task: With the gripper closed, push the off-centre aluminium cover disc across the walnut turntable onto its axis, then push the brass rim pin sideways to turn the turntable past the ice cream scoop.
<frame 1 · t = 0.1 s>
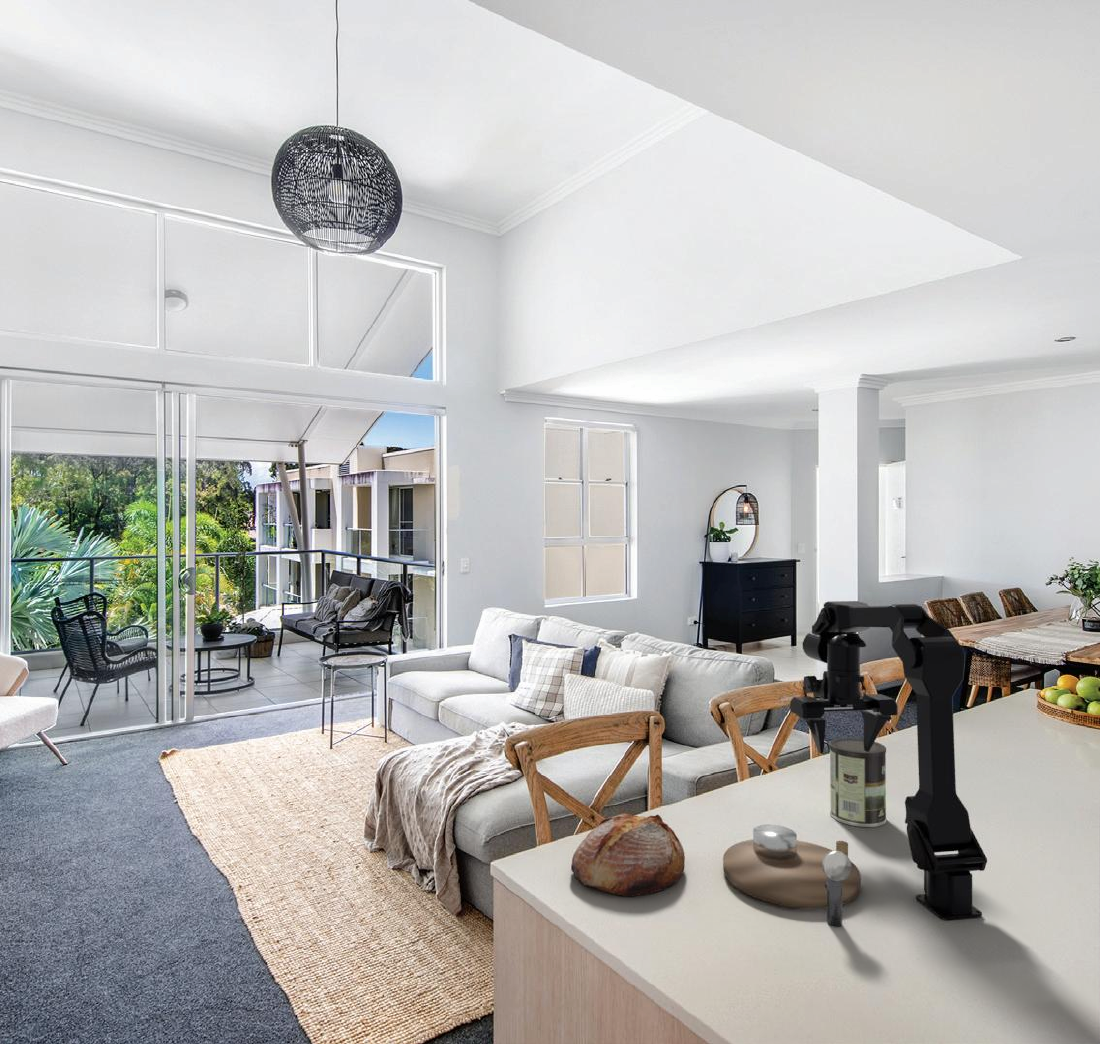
hand: (843, 752, 138), 15 cm above the kitchen island, fingers open, 9 cm apart
bread: (629, 875, 122), on the kitchen island
cover: (774, 850, 125), point 2 cm above the kitchen island, touching turntable
ice cream scoop: (834, 923, 106), on the kitchen island
coffee can: (857, 818, 145), on the kitchen island
turntable: (790, 860, 119), point 3 cm above the kitchen island, hinge at 0.0°, touching cover
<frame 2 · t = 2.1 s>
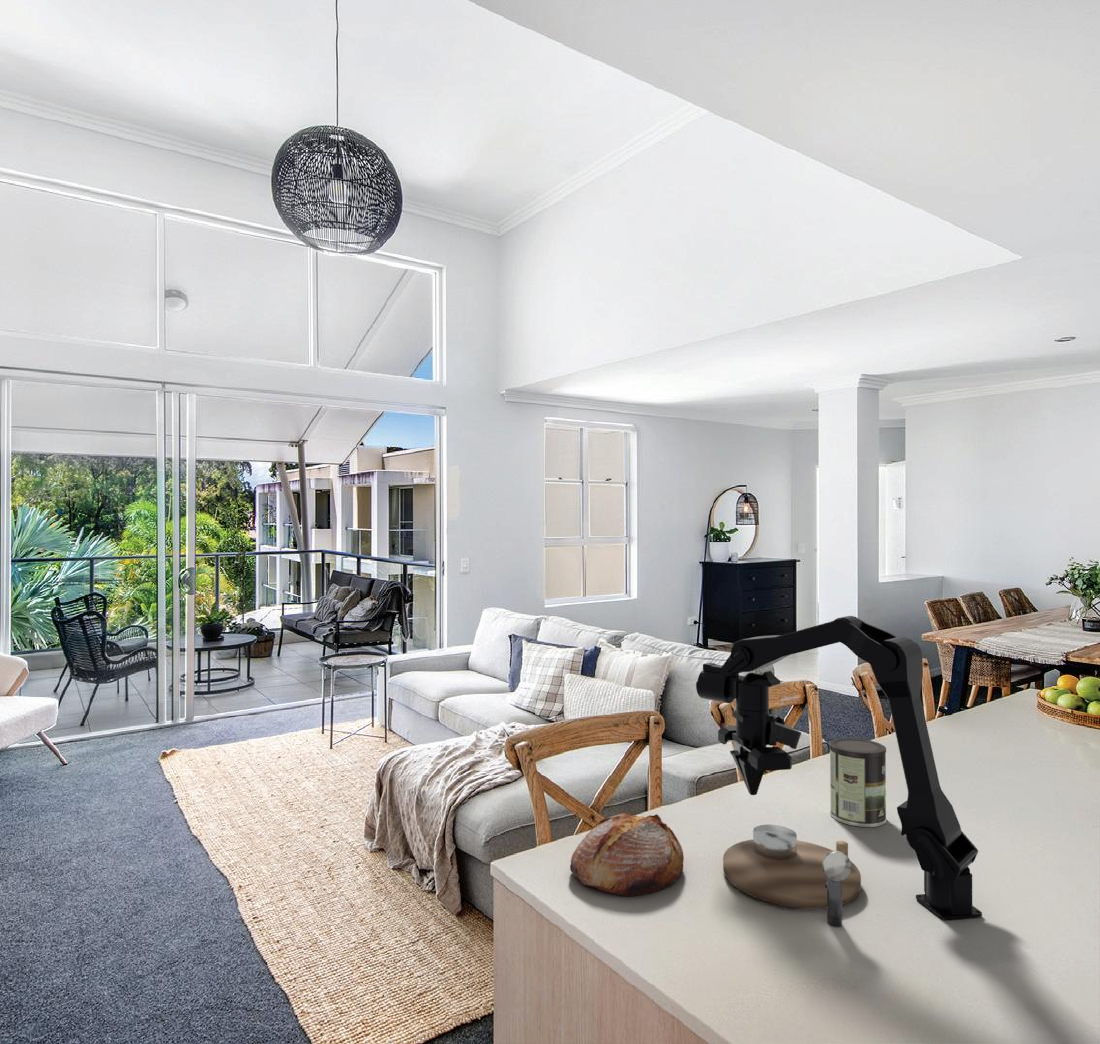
hand: (752, 794, 134), 8 cm above the kitchen island, fingers closed
nothing on the kitchen island moved.
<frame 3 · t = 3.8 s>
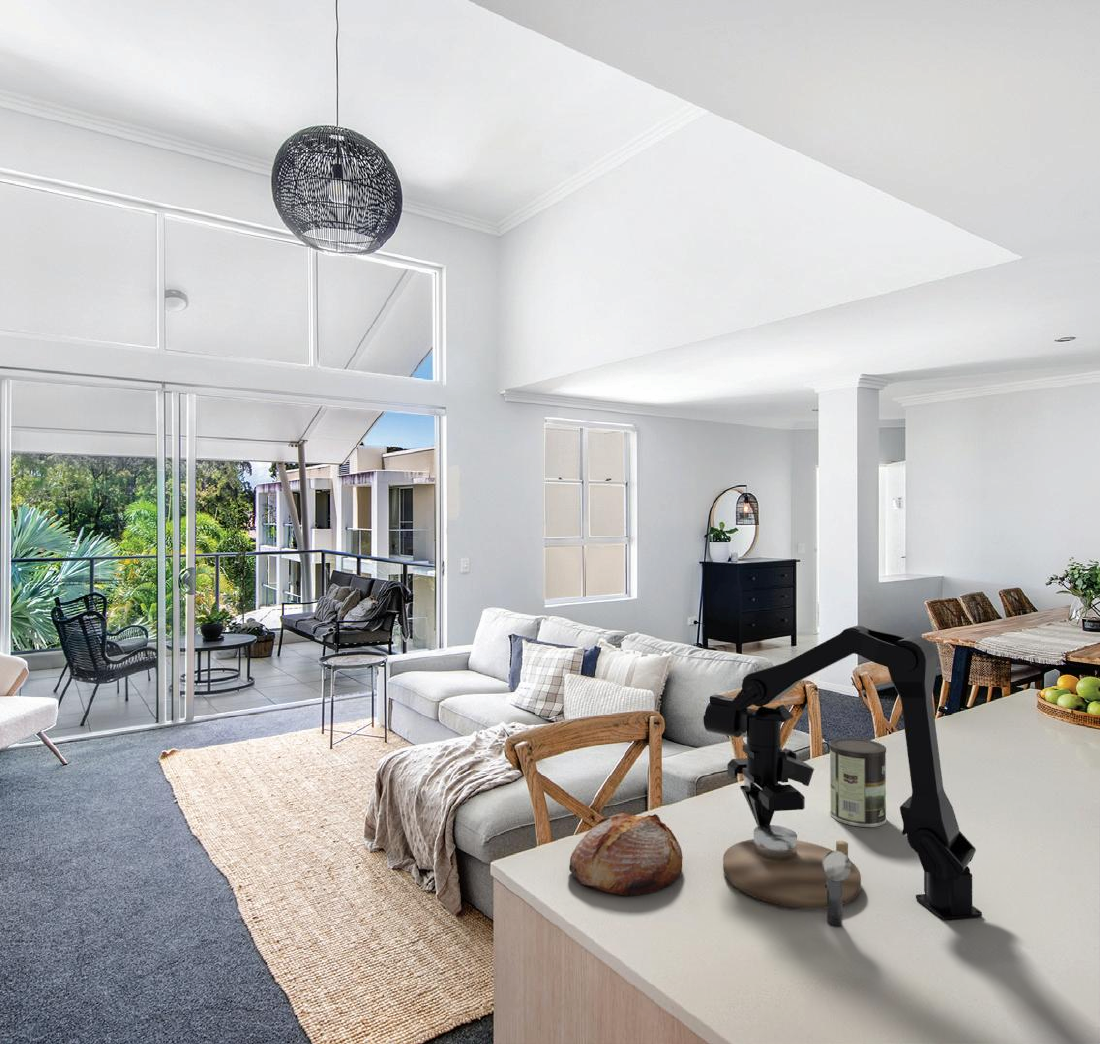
hand: (763, 832, 129), 4 cm above the kitchen island, fingers closed
cover: (775, 851, 125), point 2 cm above the kitchen island, touching gripper, turntable
everything else where it was.
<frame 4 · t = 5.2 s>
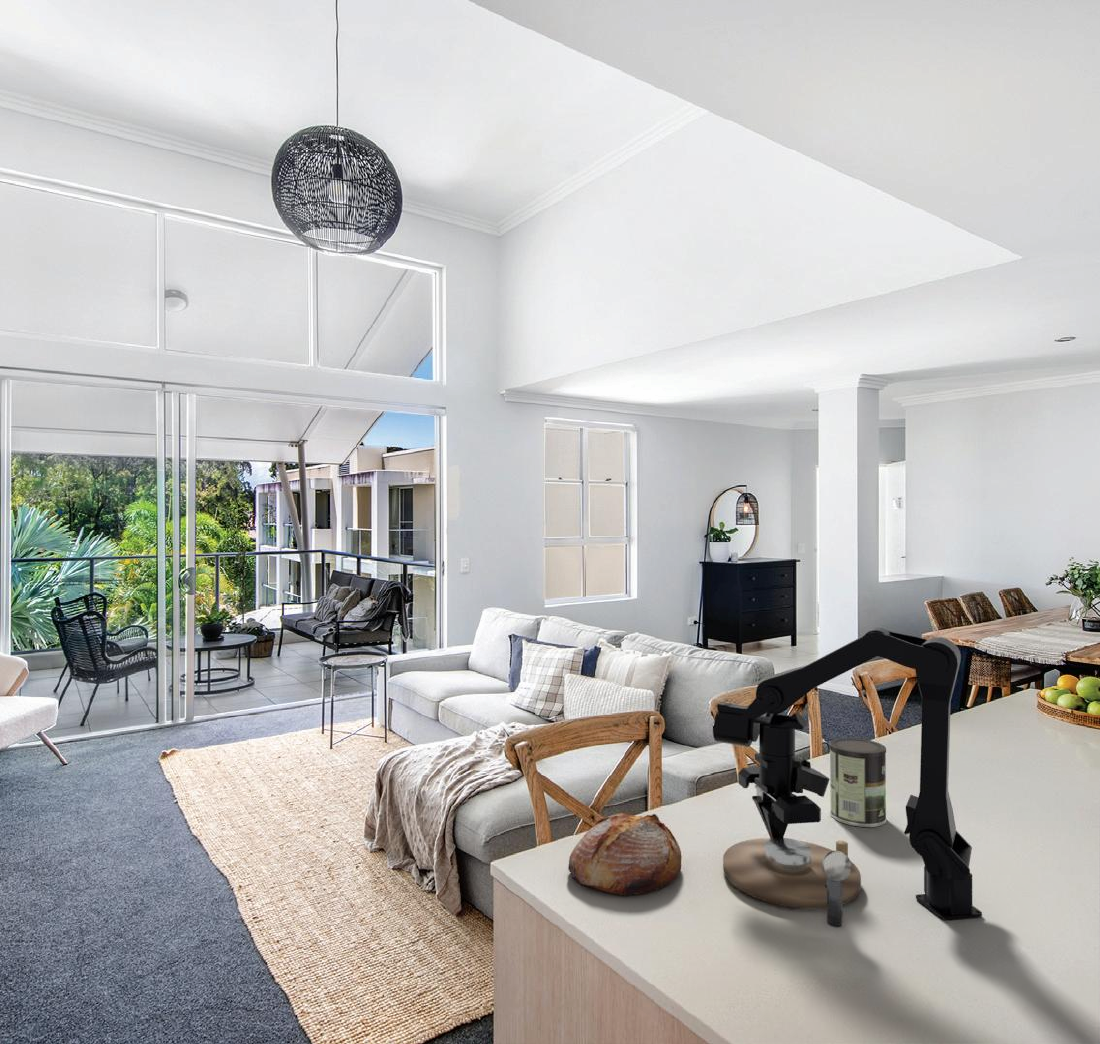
hand: (776, 844, 124), 4 cm above the kitchen island, fingers closed
cover: (788, 865, 119), point 2 cm above the kitchen island, touching turntable
turntable: (790, 860, 119), point 3 cm above the kitchen island, hinge at 0.4°, touching cover
everything else where it was.
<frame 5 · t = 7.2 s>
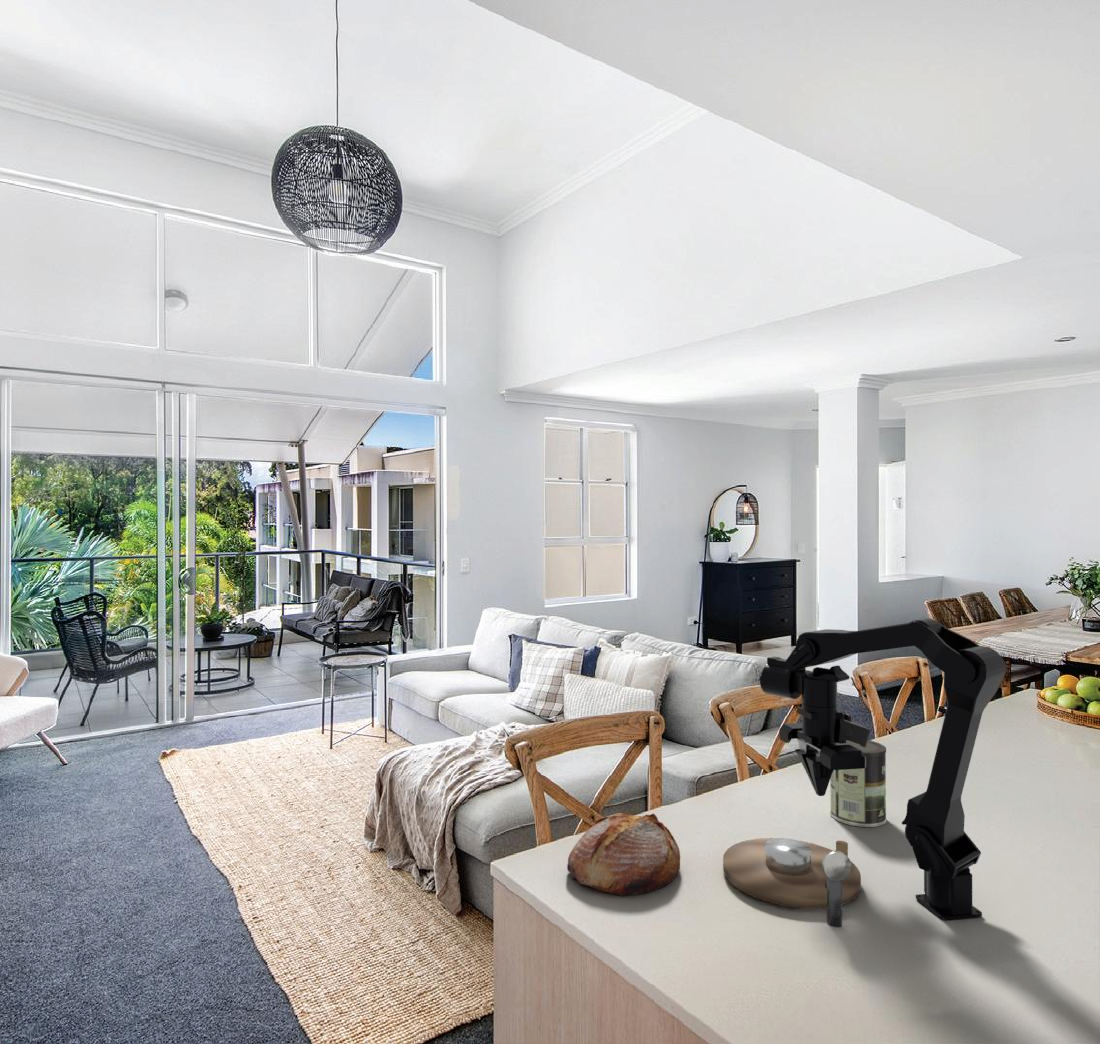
hand: (820, 795, 127), 11 cm above the kitchen island, fingers closed
nothing on the kitchen island moved.
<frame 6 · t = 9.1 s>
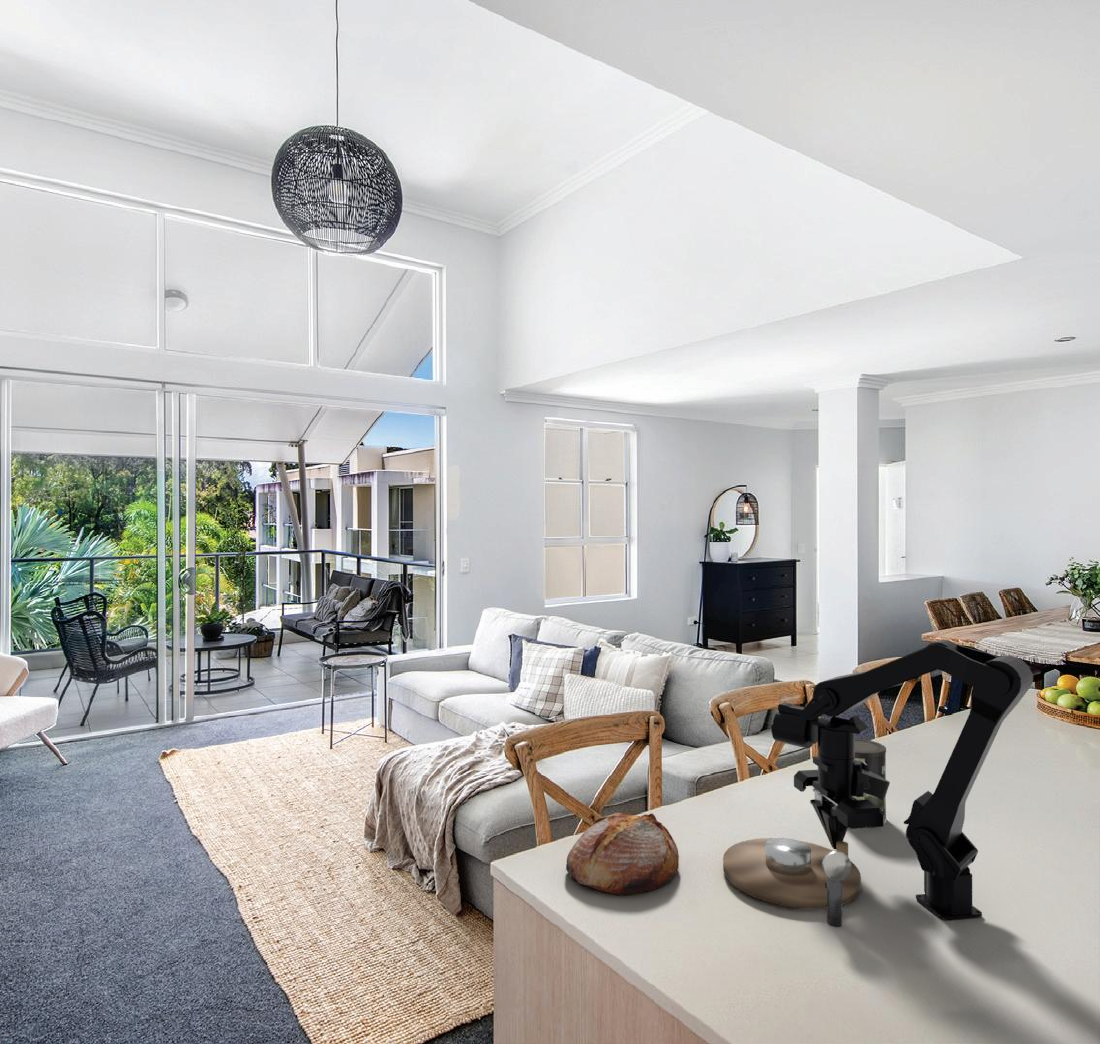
hand: (836, 848, 123), 3 cm above the kitchen island, fingers closed
turntable: (790, 860, 119), point 3 cm above the kitchen island, hinge at -0.4°, touching cover, gripper
everything else where it was.
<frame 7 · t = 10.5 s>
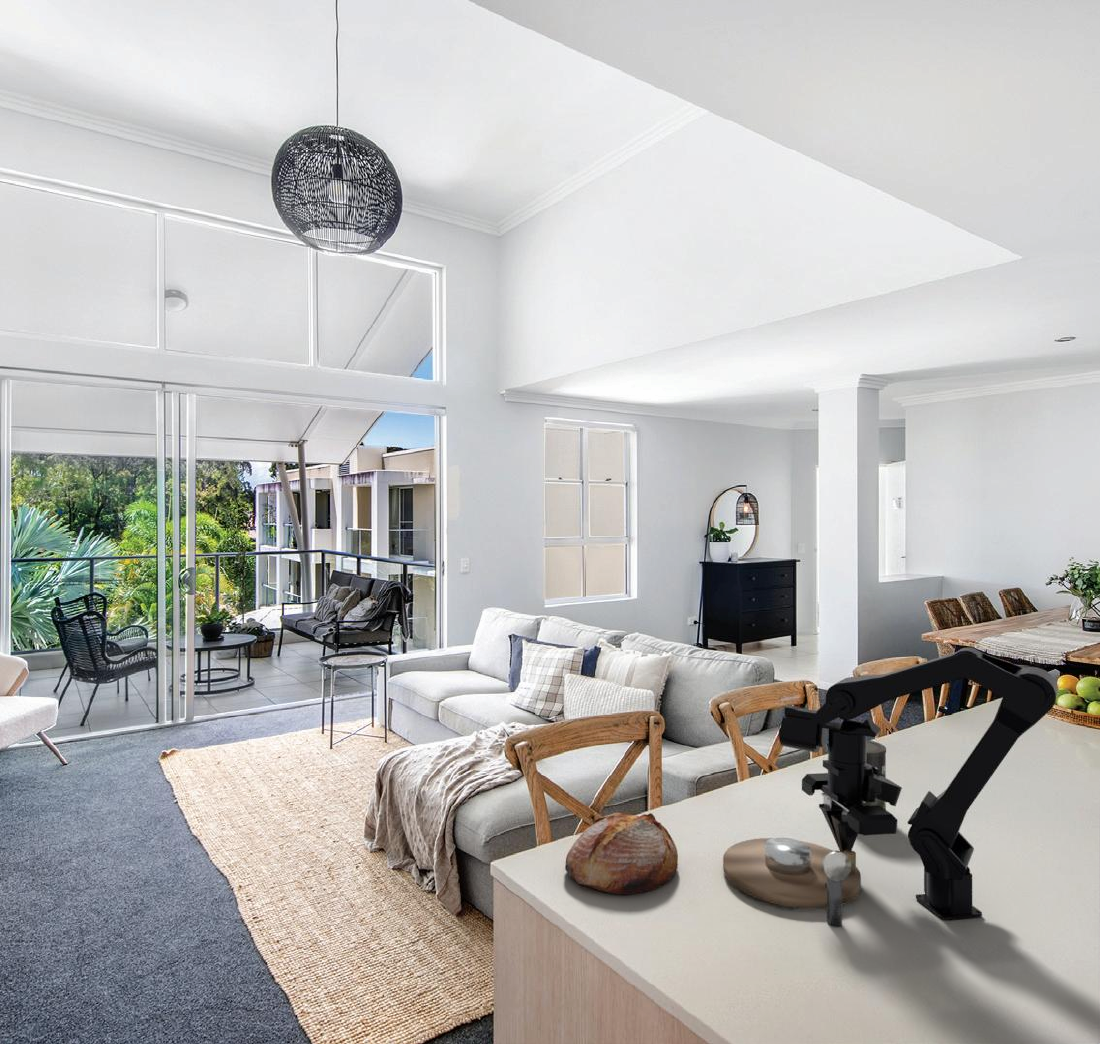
hand: (845, 854, 119), 4 cm above the kitchen island, fingers closed
turntable: (790, 860, 119), point 3 cm above the kitchen island, hinge at -21.9°, touching cover
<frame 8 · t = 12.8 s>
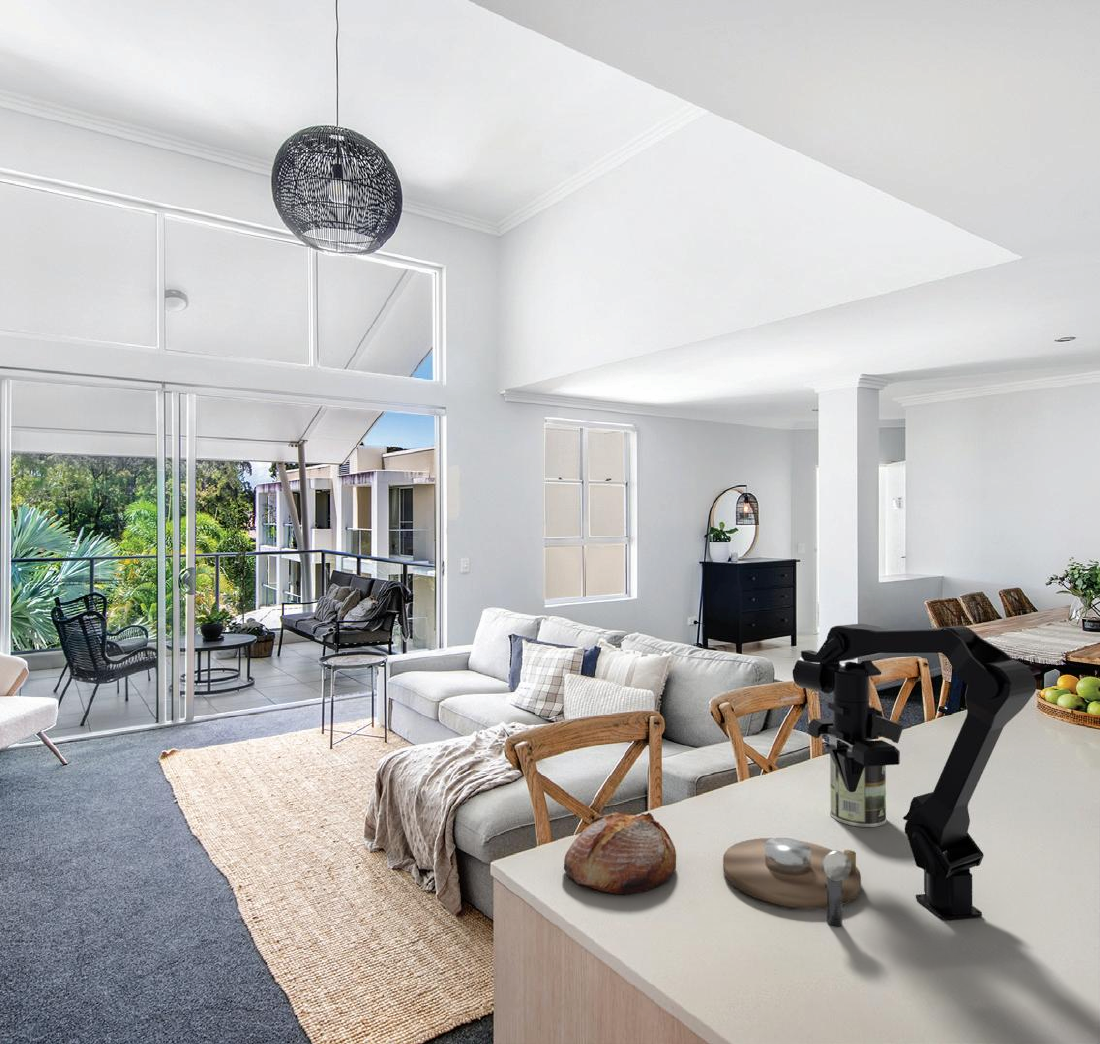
hand: (851, 791, 125), 12 cm above the kitchen island, fingers closed
at the end: cover 0.4 cm from the turntable (horizontally); cover touching turntable; turntable at -22° (first picture: +0°) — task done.
